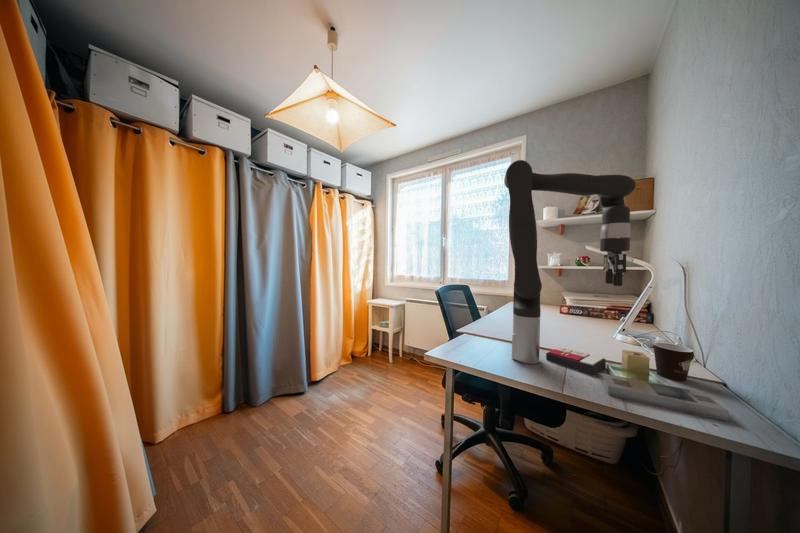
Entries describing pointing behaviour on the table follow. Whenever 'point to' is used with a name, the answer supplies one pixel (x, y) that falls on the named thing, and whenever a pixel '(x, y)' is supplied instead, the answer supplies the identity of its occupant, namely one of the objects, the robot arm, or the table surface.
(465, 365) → the table surface
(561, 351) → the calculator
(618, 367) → the tray
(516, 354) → the robot arm
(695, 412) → the rail
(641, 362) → the tan holed block
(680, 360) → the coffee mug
